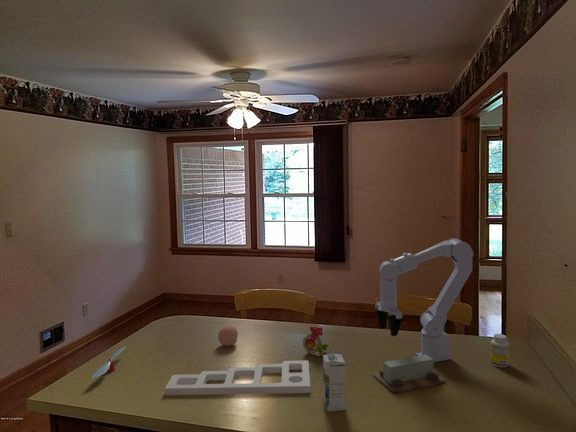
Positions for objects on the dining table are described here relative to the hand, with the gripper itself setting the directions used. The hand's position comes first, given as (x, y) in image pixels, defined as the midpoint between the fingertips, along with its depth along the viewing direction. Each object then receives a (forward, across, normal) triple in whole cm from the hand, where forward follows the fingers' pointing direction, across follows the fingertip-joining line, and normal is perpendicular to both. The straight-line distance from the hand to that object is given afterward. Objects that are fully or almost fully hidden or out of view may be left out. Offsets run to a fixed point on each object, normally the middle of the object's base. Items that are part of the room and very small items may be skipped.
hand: (388, 331), depth 152 cm
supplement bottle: (+10, +19, +32) cm, 38 cm away
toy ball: (+10, -32, -53) cm, 63 cm away
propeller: (+10, -26, -96) cm, 100 cm away
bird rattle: (+10, -12, -24) cm, 29 cm away
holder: (+10, -2, -54) cm, 55 cm away
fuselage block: (+9, +17, -3) cm, 19 cm away
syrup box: (+10, +23, -32) cm, 41 cm away
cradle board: (+9, +17, -3) cm, 20 cm away
